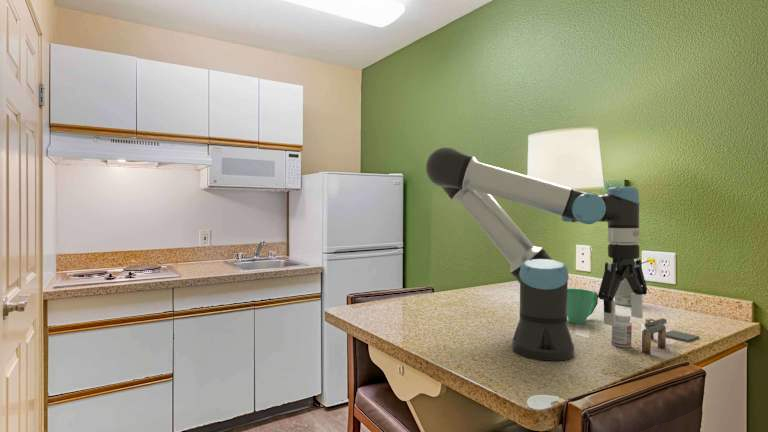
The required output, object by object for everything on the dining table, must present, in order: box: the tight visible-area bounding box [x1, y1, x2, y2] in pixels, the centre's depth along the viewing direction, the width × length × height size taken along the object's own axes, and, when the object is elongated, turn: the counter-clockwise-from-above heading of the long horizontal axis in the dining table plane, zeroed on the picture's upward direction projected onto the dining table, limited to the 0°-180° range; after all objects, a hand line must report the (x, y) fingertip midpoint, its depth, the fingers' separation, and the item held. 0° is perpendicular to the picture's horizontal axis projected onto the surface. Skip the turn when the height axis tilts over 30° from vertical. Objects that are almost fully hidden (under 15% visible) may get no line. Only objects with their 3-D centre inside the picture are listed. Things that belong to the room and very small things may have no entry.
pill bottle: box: [611, 312, 633, 348], centre depth 119 cm, size 5×5×8 cm
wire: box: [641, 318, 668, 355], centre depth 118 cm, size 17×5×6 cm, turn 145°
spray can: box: [614, 278, 635, 307], centre depth 169 cm, size 7×7×20 cm
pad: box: [666, 329, 700, 343], centre depth 126 cm, size 7×7×1 cm
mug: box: [567, 288, 599, 324], centre depth 144 cm, size 15×10×10 cm
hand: (623, 321), depth 118 cm, fingers open, 13 cm apart
